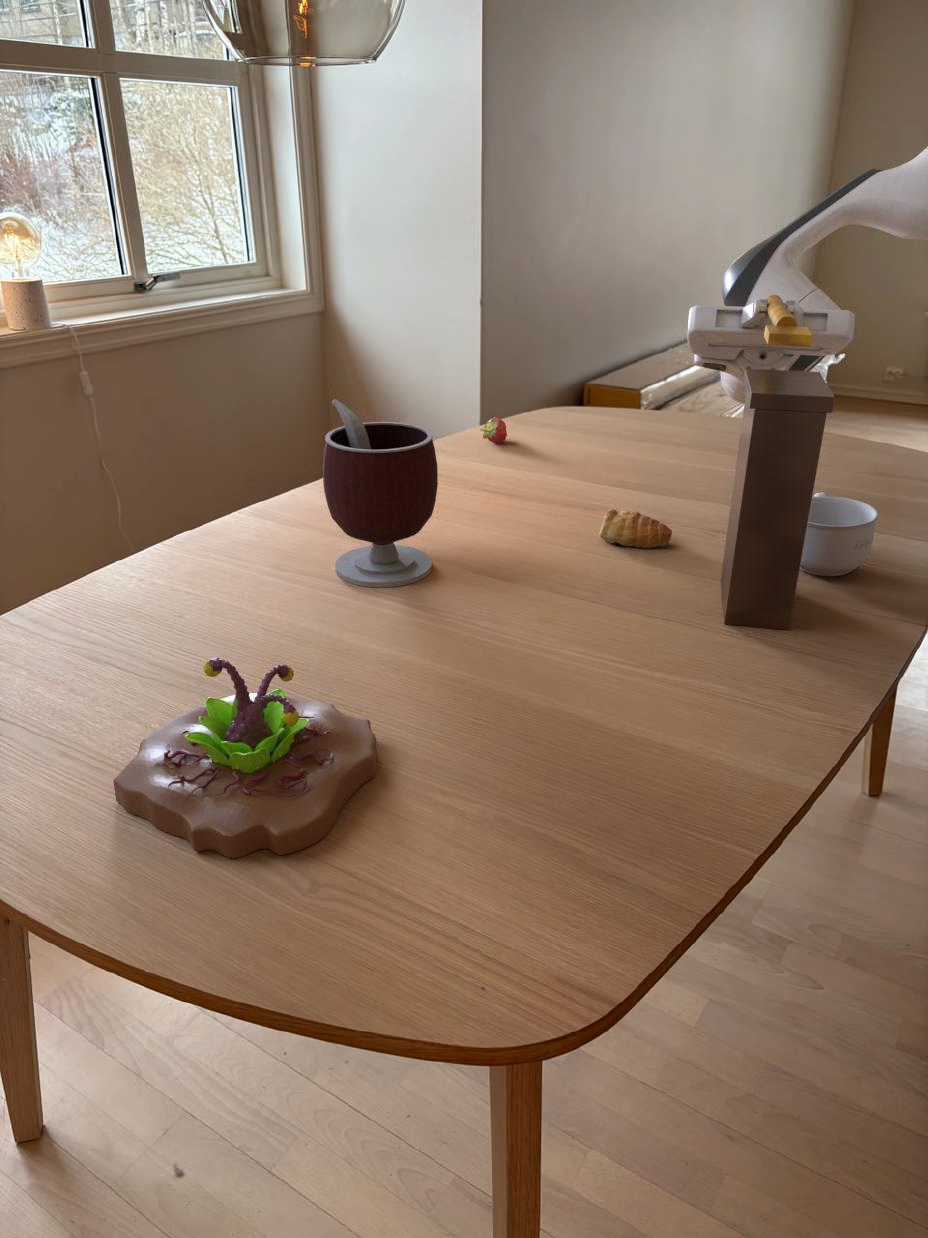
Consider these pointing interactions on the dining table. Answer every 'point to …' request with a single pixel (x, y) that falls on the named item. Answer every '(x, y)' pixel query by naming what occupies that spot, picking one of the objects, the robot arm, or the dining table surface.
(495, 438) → the fruit
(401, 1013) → the dining table surface
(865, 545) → the teacup
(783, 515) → the rectangular pillar
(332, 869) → the dining table surface
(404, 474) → the mate gourd
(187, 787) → the plant
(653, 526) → the pastry
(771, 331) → the toy blocks
